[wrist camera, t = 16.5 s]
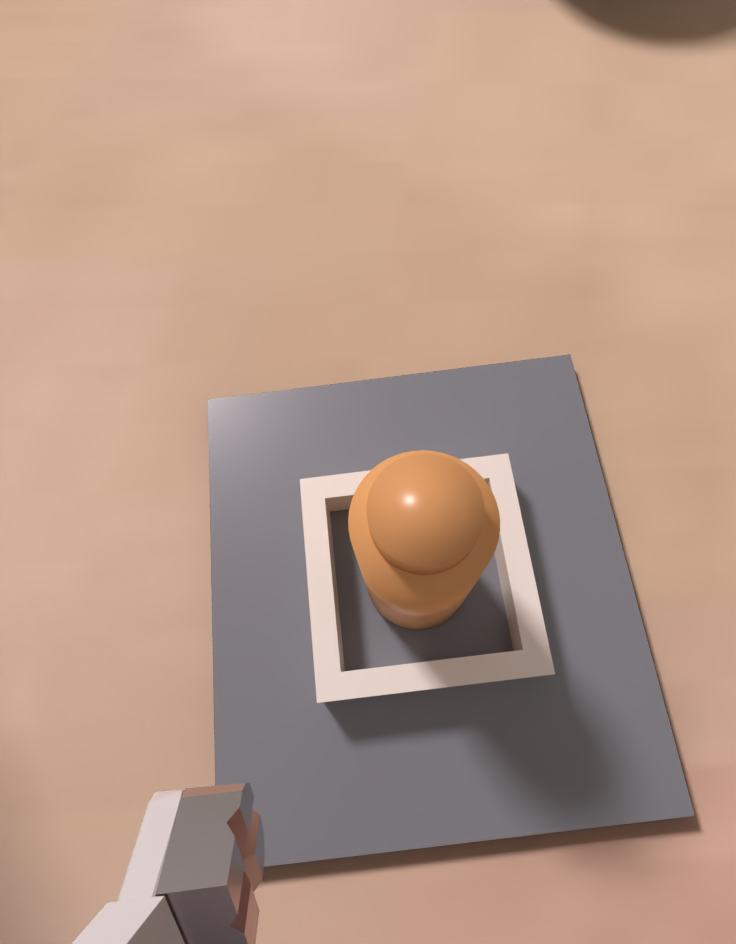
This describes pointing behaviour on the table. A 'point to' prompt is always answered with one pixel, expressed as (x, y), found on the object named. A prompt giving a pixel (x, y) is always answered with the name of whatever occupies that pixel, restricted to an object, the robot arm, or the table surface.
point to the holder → (430, 650)
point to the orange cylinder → (422, 535)
